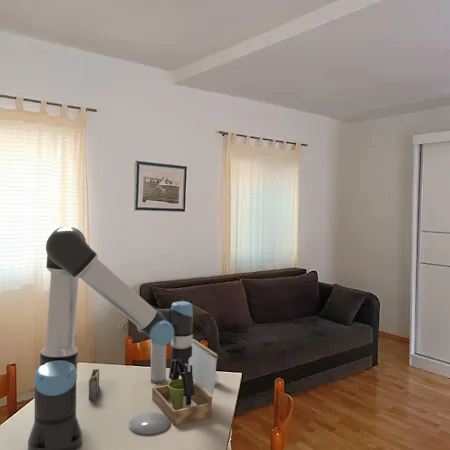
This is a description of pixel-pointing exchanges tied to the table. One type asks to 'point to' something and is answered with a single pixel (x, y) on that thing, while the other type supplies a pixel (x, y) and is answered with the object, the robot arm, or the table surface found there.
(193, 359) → the lid
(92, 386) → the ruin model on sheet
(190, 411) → the frame
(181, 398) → the plant pot
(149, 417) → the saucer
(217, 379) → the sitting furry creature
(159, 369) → the travel mug
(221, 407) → the table surface
